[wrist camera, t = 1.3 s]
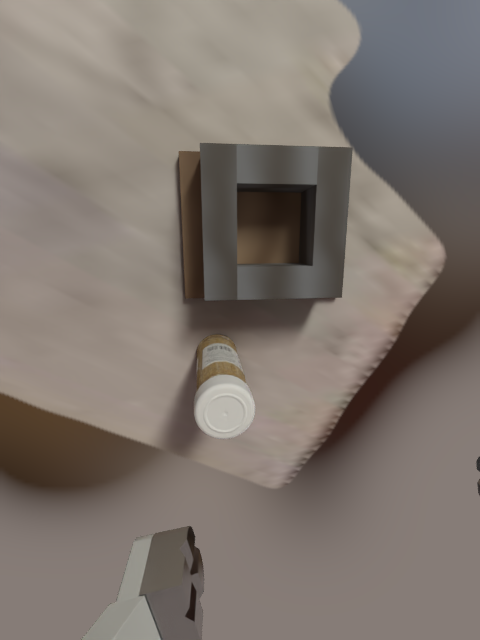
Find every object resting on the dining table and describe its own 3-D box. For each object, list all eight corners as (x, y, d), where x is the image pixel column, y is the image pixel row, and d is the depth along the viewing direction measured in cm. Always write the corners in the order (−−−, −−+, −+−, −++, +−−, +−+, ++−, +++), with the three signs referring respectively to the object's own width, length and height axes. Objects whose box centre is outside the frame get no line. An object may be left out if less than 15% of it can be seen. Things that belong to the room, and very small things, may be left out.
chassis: (185, 296, 34) (182, 306, 29) (179, 154, 31) (174, 135, 25) (337, 293, 36) (361, 302, 31) (347, 158, 33) (375, 141, 27)
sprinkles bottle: (191, 364, 36) (184, 432, 23) (204, 327, 35) (206, 376, 22) (228, 376, 37) (243, 448, 24) (243, 340, 36) (265, 395, 23)
